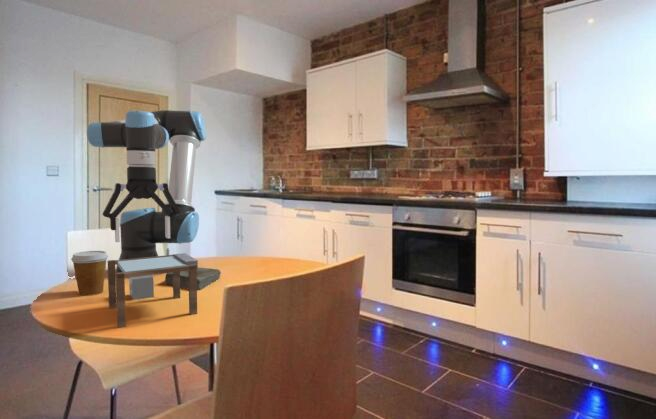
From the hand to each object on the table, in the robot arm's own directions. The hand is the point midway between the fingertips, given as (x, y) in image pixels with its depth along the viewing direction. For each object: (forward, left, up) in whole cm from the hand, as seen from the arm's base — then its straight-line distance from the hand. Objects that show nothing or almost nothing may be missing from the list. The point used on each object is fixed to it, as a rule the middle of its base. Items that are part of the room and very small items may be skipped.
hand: (143, 239), depth 117 cm
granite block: (0, -1, -17) cm, 17 cm away
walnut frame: (+15, -1, -17) cm, 22 cm away
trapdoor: (+15, +1, -6) cm, 16 cm away
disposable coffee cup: (-12, -13, -17) cm, 25 cm away
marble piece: (-8, +16, -17) cm, 25 cm away
